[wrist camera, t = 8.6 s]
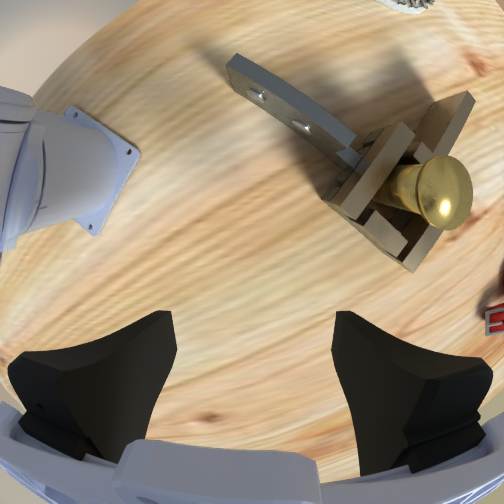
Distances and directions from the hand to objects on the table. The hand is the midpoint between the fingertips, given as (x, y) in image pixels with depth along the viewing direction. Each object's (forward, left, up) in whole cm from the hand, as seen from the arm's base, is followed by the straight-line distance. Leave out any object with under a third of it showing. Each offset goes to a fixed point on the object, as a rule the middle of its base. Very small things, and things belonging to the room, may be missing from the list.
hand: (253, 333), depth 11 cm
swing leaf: (+4, +13, -9) cm, 17 cm away
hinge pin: (+4, +11, -9) cm, 15 cm away
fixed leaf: (-1, +10, -9) cm, 14 cm away
